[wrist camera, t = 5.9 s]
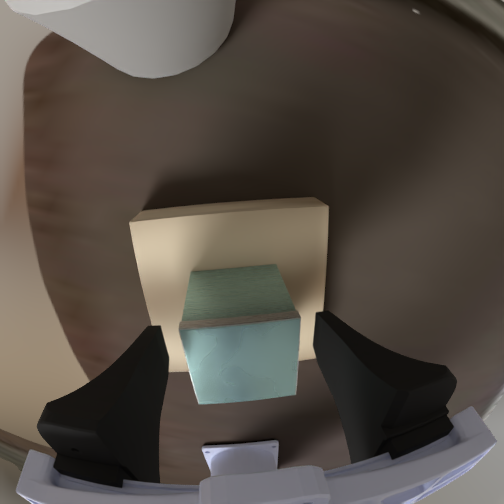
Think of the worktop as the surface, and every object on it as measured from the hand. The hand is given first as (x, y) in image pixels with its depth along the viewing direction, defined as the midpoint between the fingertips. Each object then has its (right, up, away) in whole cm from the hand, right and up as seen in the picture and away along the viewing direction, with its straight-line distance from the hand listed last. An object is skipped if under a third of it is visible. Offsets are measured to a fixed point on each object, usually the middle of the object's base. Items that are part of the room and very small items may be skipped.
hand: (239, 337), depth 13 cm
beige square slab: (-1, +2, +6) cm, 6 cm away
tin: (0, +1, +3) cm, 3 cm away
